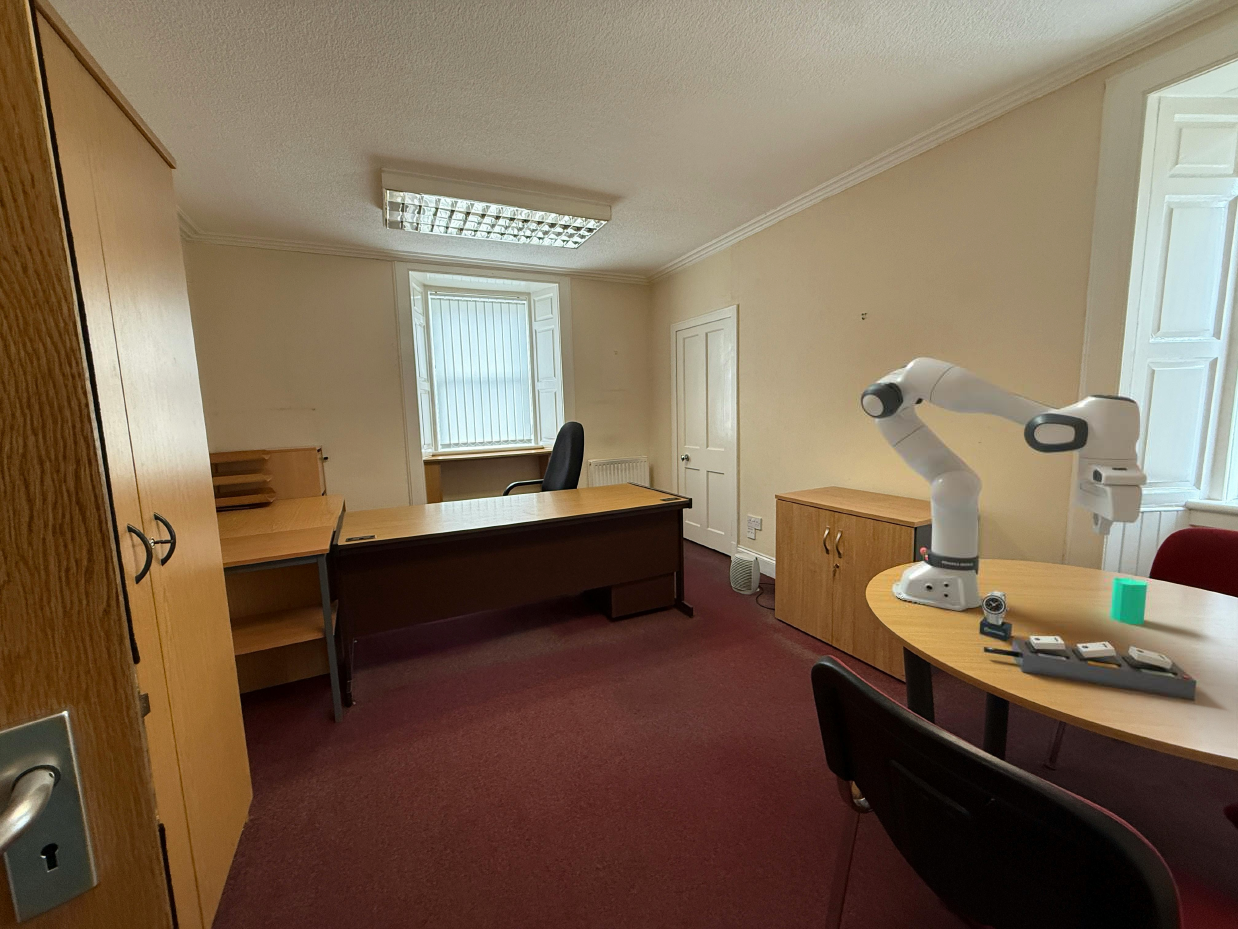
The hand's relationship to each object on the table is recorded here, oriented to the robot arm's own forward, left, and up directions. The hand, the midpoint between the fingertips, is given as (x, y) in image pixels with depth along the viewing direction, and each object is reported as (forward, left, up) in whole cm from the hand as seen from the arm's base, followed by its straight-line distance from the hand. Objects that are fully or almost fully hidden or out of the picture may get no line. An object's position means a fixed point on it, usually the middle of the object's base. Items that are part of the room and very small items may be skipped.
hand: (1100, 533), depth 104 cm
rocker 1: (-10, -8, -23) cm, 27 cm away
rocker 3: (+6, -8, -23) cm, 25 cm away
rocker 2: (-2, -8, -23) cm, 25 cm away
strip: (-5, -8, -29) cm, 30 cm away
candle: (+16, +28, -29) cm, 44 cm away
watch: (-16, +6, -29) cm, 34 cm away
